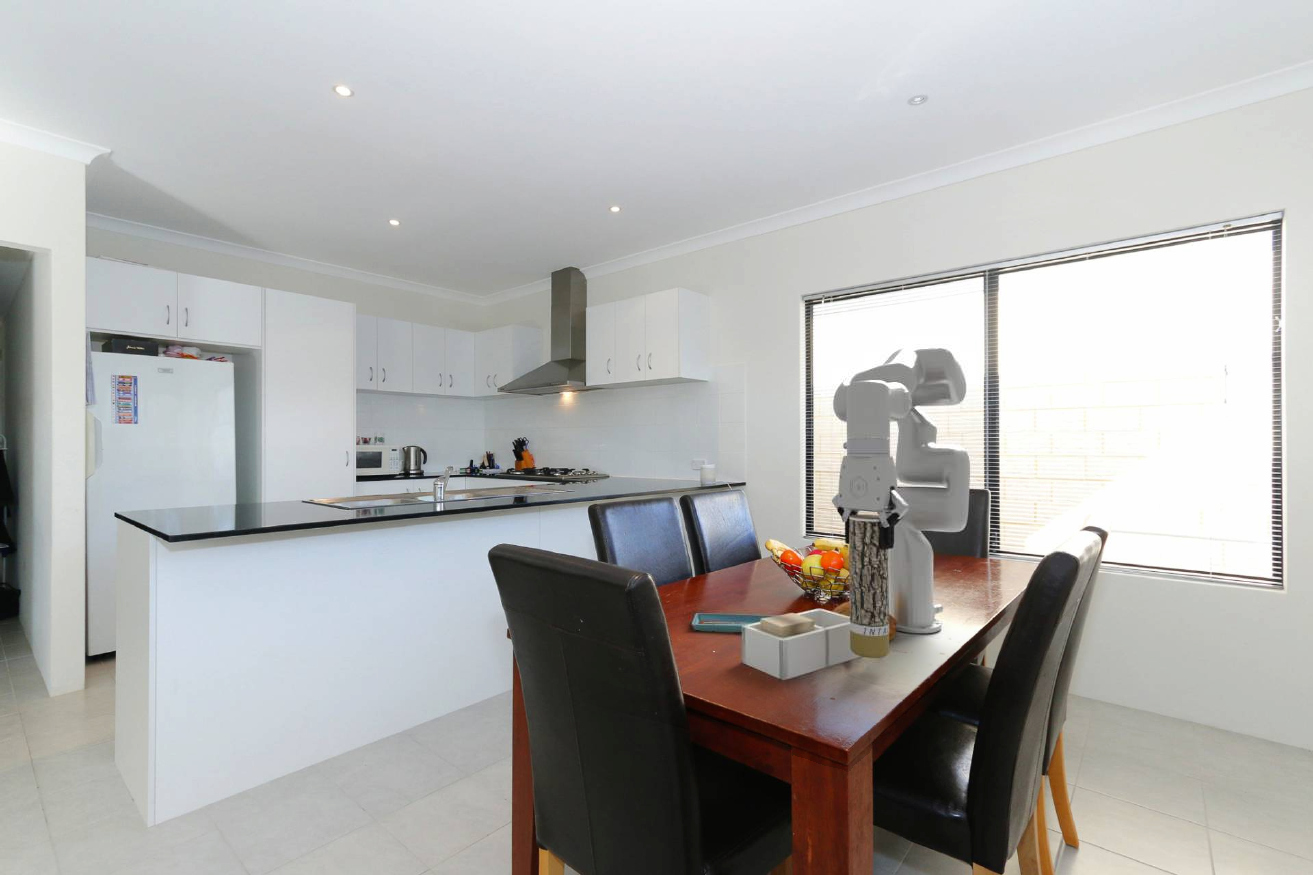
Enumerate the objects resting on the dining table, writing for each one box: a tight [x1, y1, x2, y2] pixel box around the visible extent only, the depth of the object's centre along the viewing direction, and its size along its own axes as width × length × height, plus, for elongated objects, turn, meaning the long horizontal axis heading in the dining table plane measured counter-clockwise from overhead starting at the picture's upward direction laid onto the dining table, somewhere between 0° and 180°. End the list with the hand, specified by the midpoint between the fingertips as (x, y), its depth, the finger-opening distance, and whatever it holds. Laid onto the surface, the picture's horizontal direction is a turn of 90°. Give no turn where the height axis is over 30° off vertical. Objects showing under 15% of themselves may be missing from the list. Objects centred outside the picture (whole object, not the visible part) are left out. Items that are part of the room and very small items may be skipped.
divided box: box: [741, 608, 863, 681], centre depth 122 cm, size 22×11×7 cm, turn 124°
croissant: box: [831, 600, 897, 642], centre depth 137 cm, size 14×16×8 cm
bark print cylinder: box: [848, 513, 890, 659], centre depth 115 cm, size 7×7×25 cm
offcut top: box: [760, 612, 814, 638], centre depth 119 cm, size 8×6×3 cm
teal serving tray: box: [691, 612, 774, 633], centre depth 143 cm, size 26×9×2 cm, turn 80°
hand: (868, 545), depth 115 cm, fingers closed on bark print cylinder, 6 cm apart
